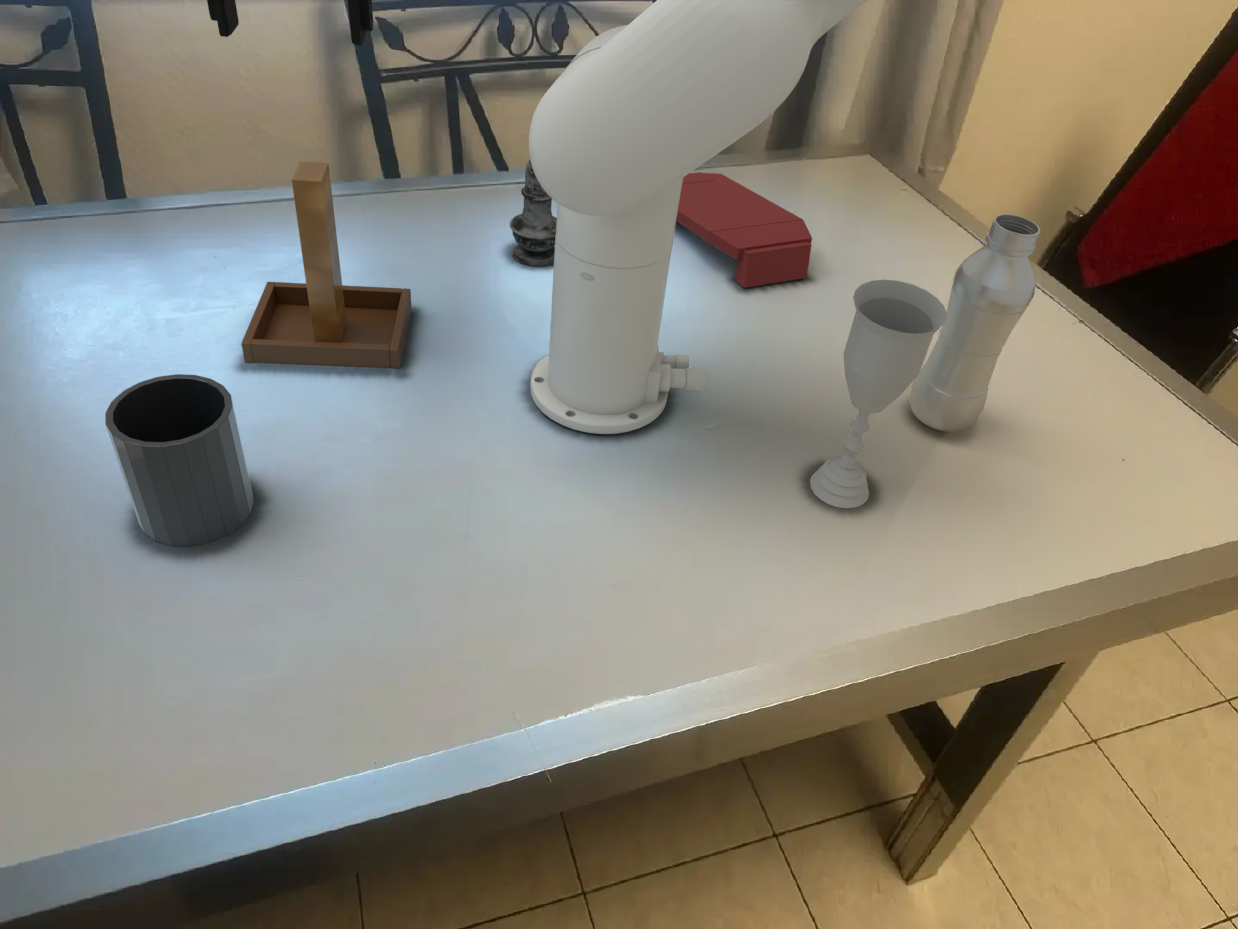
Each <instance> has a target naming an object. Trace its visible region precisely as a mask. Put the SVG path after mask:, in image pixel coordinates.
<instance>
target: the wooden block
mask: <svg viewBox="0 0 1238 929" xmlns="http://www.w3.org/2000/svg"><path fill="white" fill-rule="evenodd" d="M330 172H331V171H330V165H329V163H328V162H318V161H304V160H303V161H299V163H298V165H297V167H296V169H295V171H294V173H293V176H292V178H291V186H292V194H293V199H294V205H295V214H296V222H297V229H298V234H299V242H300V250H301V257H302V264H303V269H304V270H303V271H304V278H305V284H306V286H307V293H308V300H309V307H310V314H311V322H312V329H313V336H314V342H332V343H341V339H342V336H343V332H344V329H345V325H346V314H345V305H344V296H343V287H342V285H343V279H342V271H341V270H342V269H341V262H340V254H339V253H340V252H339V244H338V243H339V242H338V234H337V227H336V218H335V217H336V216H335V210H334V208H335V207H334V201H333V200H334V199H333V191H332V181H331V174H330Z"/></svg>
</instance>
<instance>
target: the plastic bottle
mask: <svg viewBox="0 0 1238 929" xmlns="http://www.w3.org/2000/svg"><path fill="white" fill-rule="evenodd" d="M990 225H991V226H990V229H989V230H988V231H987V233H986V235H985V238H984V239H985V242H986V244H985V245H983V246H982V247H980V248H979V249H977V250H975V251H974V252H973V253H971V254H970V255H969V256H968V257H966V258H965V259H964V260H962V262H961V263H960V265H959V266H958V267H957V268H956V270H955V272H954V276H953V280H952V284H951V285H952V286H951V289H950V293H949V297H948V298H949V299H948V303H947V308H946V312H947V318H946V322H945V323H944V324H943V325H942V327H941V328H940V329H939V334H938V336H937V340H936V341H935V343H934V345H933V347H932V349H931V350H930V353H929V356H928V357H927V359H926V361H925V363H924V364H923V365H922V367H921V370H920V373H919V375H918V376H917V377H916V378H915V379H914V381H913V382H912V383H911V386H910V391H909V392H910V393H909V397H908V398H909V399H908V402H909V406H910V409H911V412H912V414H913V415H914V417H915V418H916V419H918V420H919V421H920V422H921V423H923V424H924V425H925V426H927V427H929V428H932V429H934V430H937V431H940V432H947V433H956V432H960V431H964V430H965V429H967V428H969V427H971V426H973V425H974V424H975V423H976V421H977V420H978V418H979V417H980V416H981V414H982V413H983V411H984V408H985V404H986V401H987V397H988V394H989V385H990V382H991V379H992V376H993V373H994V371H995V367H996V365H997V361H998V358H999V356H1000V355H1001V353H1002V351H1003V348H1004V347H1005V345H1006V343H1007V341H1008V339H1009V337H1010V335H1011V334H1012V332H1013V330H1014V328H1015V327H1016V325H1017V324H1018V322H1019V321H1020V320H1021V318H1022V316H1023V315H1024V313H1025V312H1026V310H1027V308H1028V307H1029V306H1030V303H1031V302H1032V300H1033V298H1034V296H1035V292H1036V291H1035V290H1036V278H1035V274H1034V269H1033V267H1032V264H1031V262H1030V261H1031V260H1030V259H1029V257H1030V256H1031V255H1033V254H1034V253H1035V250H1036V247H1037V245H1036V244H1037V242H1038V239H1039V236H1040V234H1041V228H1040V226H1039V225H1038V224H1037V223H1036V222H1034V221H1032V220H1031V219H1028V218H1027V217H1023V216H1020V215H1017V214H1009V213H1001V214H998V215H996V216H995V217H994V218H993V220H992V223H991V224H990Z"/></svg>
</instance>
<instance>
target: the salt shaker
mask: <svg viewBox="0 0 1238 929" xmlns="http://www.w3.org/2000/svg"><path fill="white" fill-rule="evenodd" d="M524 170H525V172H524V186H523V187H522V188H521V190H520V194H521V196H523V208H522V212H521V213H519V214H517V215H515V216H514V217H512V218H511V219H510V221H509V229H510V230H511V231H512V236H513V239H514V240H515V242H516V245H515V246H514V247H513V248H512V249H511V257H512V258H513V260H515V261H516V262H518V263H520V264H522V265H525V266H529V267H547V266H550V265H554V254H555V236H556V225H557V216H554V215H553V212H552V200H553V199H552V198H551V197H550V196H549V195H548V194H547V193H546V192H545V190H544V189H543V188H542V186H541V185H540V183H539V182H538V180H537V178H536V176H535V173H534V171H533V168H532V164H531V160H530V159H528V160H527V161H526V163H525V169H524Z"/></svg>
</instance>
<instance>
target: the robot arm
mask: <svg viewBox="0 0 1238 929" xmlns="http://www.w3.org/2000/svg"><path fill="white" fill-rule="evenodd" d="M868 1H869V0H655V1H654V2H653V3H651V5H649V7H647V8H646V9H645V10H644V11H643V12H641V13H640V14H639V15H638V16H636V18H634V19H633V20H632V21H631V22H630V23H628V24H624V25H619V26H616V27H613V28H610V29H608V30H605V31H604V32H602V33H600V34H598V35H597V36H595V37H594V38H593V39H591V40H590V41H589V42H588V43H587V44H585V46H583V47H582V49H581V50H580V51H578V53H577V54H576V55H575V56H574V57H573V59H572V60H571V61H570V62H569V64H568V65H566V67H565V68H564V70H562V72H561V74H560V75H559V76H558V77H557V78H556V80H554V82H553V83H552V84H551V86H550V87H548V89H547V91H546V92H545V93H544V94H543V96H542V97H541V99H540V100H539V102H538V103H537V106H536V108H535V110H534V113H533V115H532V118H531V122H530V127H529V129H528V130H529V132H528V154H529V160H531V164H532V168H533V171H534V173H535V176H536V178H537V180H538V182H539V183H540V185H541V186H542V188H543V189H544V190H545V192H546V193H547V194H548V195H549V196H550V197H551V198H552V200H553V201H554V202H555V203H557V209H556V213H557V214H556V218H557V225H556V236H555V245H554V247H555V254H554V263H553V275H552V276H553V277H552V290H551V291H552V292H551V293H552V294H551V309H550V310H551V312H550V330H549V350H548V354H547V355H545V356H544V357H542V358H541V359H540V361H538V362H537V363H536V364H535V366H534V367H533V369H532V372H531V374H530V375H531V376H530V384H529V385H530V386H529V390H530V396H531V398H532V401H533V403H534V404H535V406H536V407H537V408H538V409H539V410H540V412H542V414H544V415H545V416H546V417H548V418H549V419H551V420H552V421H554V422H556V423H557V424H559V425H561V426H563V427H566V428H569V429H571V430H574V431H579V432H584V433H588V434H598V435H616V434H621V433H628V432H631V431H636V430H638V429H639V430H640V429H641V428H644V427H645V426H647V425H649V424H652V423H653V422H654V421H655V420H656V419H658V417H660V415H661V414H662V412H663V411H664V410H665V407H666V404H667V401H668V394H669V392H670V390H671V389H683V390H695V391H696V390H698V391H705V389H706V383H707V372H706V369H705V368H700V367H699V368H697V367H696V368H694V367H690V356H689V354H688V355H687V354H673V355H672V354H671V355H669V354H664V353H665V352H664V351H660V350H659V338H660V332H661V325H662V318H663V310H664V304H665V298H666V290H667V283H668V276H669V271H670V270H669V268H670V261H671V255H672V250H673V243H674V238H675V231H676V225H677V224H676V223H677V221H676V218H677V211H678V205H679V199H680V193H681V187H682V182H683V177H685V176H686V175H688V174H689V173H693V172H694V171H695V170H696V169H698V168H700V167H701V166H702V165H704V164H705V163H706V162H708V161H709V160H711V159H713V158H714V157H716V156H717V155H718V154H720V153H721V152H722V151H725V149H727V148H728V147H730V146H732V145H733V144H734V143H736V142H737V141H739V140H740V139H742V137H744V136H745V135H747V134H748V133H750V132H751V131H753V130H754V129H755V128H756V127H757V126H759V125H760V124H762V123H763V122H765V121H766V119H767V118H768V117H770V116H771V115H772V114H773V113H774V112H775V111H776V110H777V109H778V108H779V107H780V106H781V105H782V104H783V103H784V102H785V101H786V99H787V98H788V97H789V96H790V94H791V93H792V92H793V90H794V89H795V87H796V86H797V85H798V83H799V82H800V80H801V78H802V75H803V73H804V71H805V69H806V67H807V63H808V61H809V58H810V54H811V51H812V49H813V47H814V45H815V44H816V43H817V41H818V40H819V39H820V38H821V37H822V36H824V35H825V34H826V33H828V31H830V30H831V29H832V28H833V27H835V26H836V25H838V23H840V22H841V21H842V20H844V19H845V18H847V16H849V15H850V14H851V13H853V12H855V11H856V10H857V9H859V7H861V6H863V5H864V4H865V3H866V2H868ZM206 2H207V8H208V13H209V17H210V20H211V21H213V22H214V21H215V22H217V28H218V34H219V36H220V37H223V38H228V37H229V36H232V34H233V33H234V32H235V31H236V29H237V28H238V26H239V24H240V23H239V22H240V20H239V15H238V14H239V13H238V9H237V2H236V0H206ZM347 7H348V8H347V9H348V18H349V19H348V20H349V28H350V29H349V30H350V38H351V39H350V40H351V44H354V46H358V47H362V46H363V44H364V42H365V39H366V37H367V32H373V30H374V11H373V0H347Z"/></svg>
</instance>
